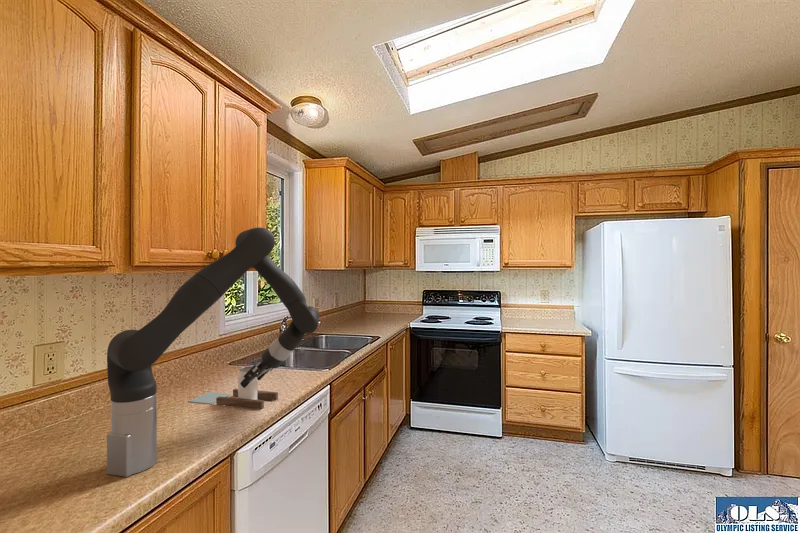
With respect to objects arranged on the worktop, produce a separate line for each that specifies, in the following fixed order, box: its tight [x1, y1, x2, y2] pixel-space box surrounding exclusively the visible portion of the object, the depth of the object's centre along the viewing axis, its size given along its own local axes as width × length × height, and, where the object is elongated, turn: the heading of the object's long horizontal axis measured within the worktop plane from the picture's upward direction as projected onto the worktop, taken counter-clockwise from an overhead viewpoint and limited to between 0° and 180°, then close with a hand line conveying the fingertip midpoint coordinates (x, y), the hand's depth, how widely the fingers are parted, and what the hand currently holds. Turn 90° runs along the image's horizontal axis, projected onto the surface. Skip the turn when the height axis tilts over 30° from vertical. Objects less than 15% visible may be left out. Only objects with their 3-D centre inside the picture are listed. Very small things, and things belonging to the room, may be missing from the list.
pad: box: [187, 391, 232, 405], centre depth 139 cm, size 10×10×1 cm
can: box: [237, 366, 258, 400], centre depth 135 cm, size 6×6×12 cm
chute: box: [215, 388, 279, 410], centre depth 135 cm, size 10×18×2 cm, turn 76°
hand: (250, 381), depth 135 cm, fingers open, 8 cm apart
